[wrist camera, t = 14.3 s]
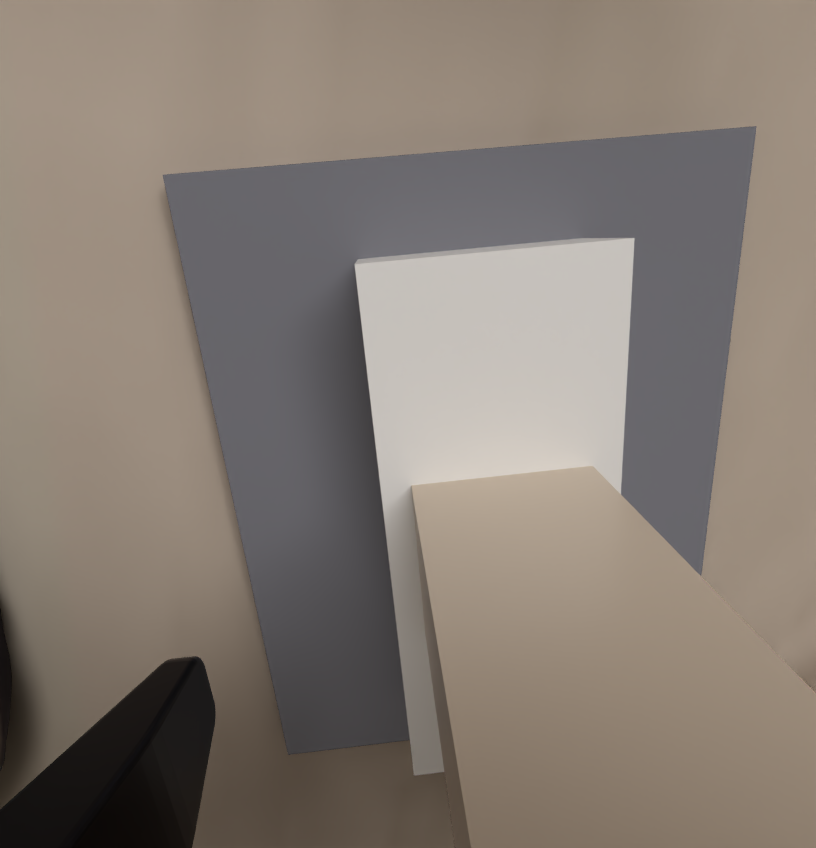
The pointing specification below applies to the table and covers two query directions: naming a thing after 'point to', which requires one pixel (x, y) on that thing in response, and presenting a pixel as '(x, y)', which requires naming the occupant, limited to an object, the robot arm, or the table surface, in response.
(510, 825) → the plate with square knob
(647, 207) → the mat
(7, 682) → the salad plate
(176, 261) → the table surface
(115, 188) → the table surface
